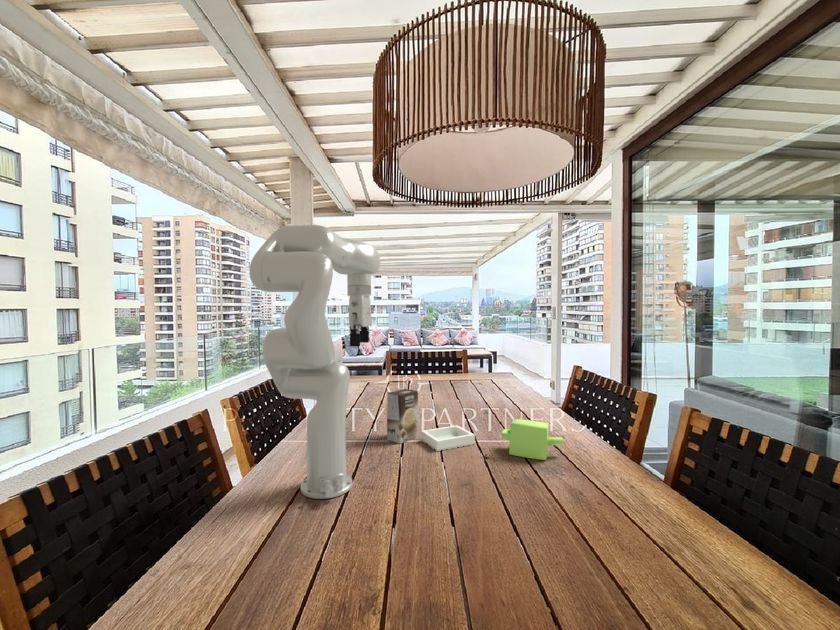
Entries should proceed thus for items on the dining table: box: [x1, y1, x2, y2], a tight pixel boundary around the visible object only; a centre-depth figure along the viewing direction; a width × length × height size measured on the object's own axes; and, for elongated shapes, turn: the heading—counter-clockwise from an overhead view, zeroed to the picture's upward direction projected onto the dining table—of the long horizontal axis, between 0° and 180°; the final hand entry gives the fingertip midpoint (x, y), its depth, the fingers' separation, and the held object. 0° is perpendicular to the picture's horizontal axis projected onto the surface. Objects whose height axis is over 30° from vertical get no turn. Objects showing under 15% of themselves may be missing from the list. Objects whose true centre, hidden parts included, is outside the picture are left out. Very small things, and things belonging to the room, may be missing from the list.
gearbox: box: [501, 418, 564, 461], centre depth 118 cm, size 18×10×10 cm, turn 68°
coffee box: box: [386, 388, 419, 444], centre depth 131 cm, size 9×6×16 cm
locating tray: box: [421, 425, 476, 452], centre depth 127 cm, size 11×14×3 cm
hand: (359, 344), depth 124 cm, fingers open, 9 cm apart
